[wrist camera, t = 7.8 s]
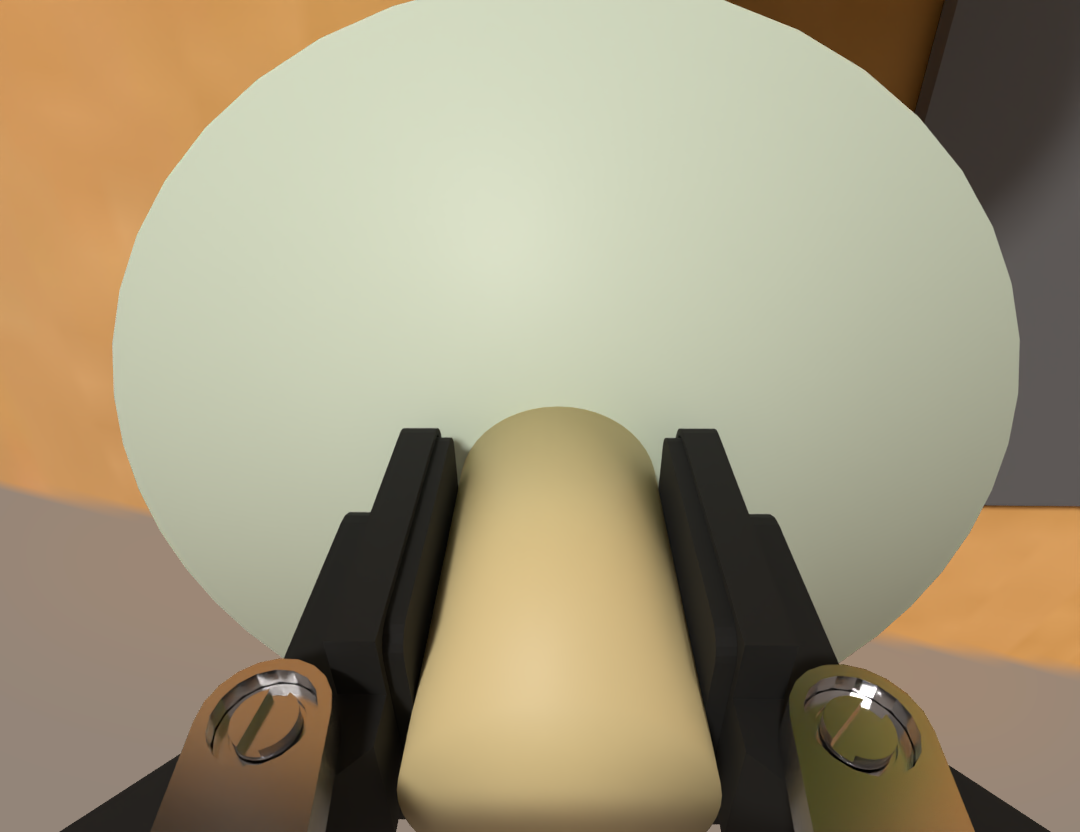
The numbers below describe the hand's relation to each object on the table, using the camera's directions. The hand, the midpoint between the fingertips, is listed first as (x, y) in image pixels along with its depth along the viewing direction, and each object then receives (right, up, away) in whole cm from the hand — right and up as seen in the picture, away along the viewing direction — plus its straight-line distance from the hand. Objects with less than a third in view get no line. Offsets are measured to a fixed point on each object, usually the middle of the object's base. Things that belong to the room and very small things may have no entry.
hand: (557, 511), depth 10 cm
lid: (0, +1, +1) cm, 2 cm away
